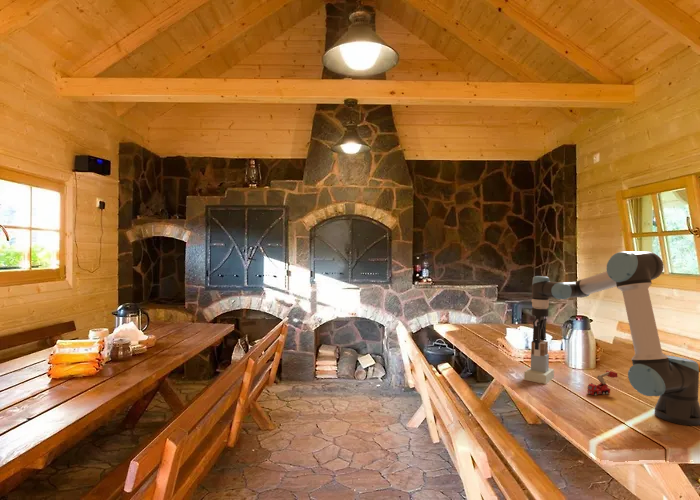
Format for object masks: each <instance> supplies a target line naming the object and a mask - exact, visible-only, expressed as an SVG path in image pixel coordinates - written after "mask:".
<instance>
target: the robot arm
mask: <svg viewBox="0 0 700 500" xmlns="http://www.w3.org/2000/svg"><path fill="white" fill-rule="evenodd" d="M664 267H665V266H664V262H663V260H662V258H661V257H660V256H659V255H658V254H656V253H654V252H652V251H647V250H645V251H638V250H637V251H635V250H633V251H630V250H627V251H619V252H616V253H614V254H613V255H611V257H610V258H609V259H608V261H607V263H606V270H605V271H603V272H600V273H597V274H595V275H591V276H588V277H586V278H582V279H579V280H575V281H559V282H558V281H550V277H548V276H544V275H542V276H541V275H536V276H533V277H532V284H531V286H532V291H531V294H532V297H531V298H532V299H531V300H530V302H531V306H532V308H531V315H532V316H533V317H535V319H534V321H532V322H533V328H532V329H533V331H532V341H531V342H534V356H539V357H540V341H547V318H545V317H548V316H549V306H550V303H549V302H550V298H551V299H552V298H553V299H558V300H568V299H570V298H580V299H581V298H585V297H586V298H587V297H589V296H590V295H591V294H594V293H599V292H603V291H605V290H609V289H612V288H615V287H616V288H617V289H618V290H620V291H621V292H622V293H621V294H622V296H623V301H624V306H625V307H624V308H625V311H626V315H627V320H628V324H629V325H628V326H629V331H630V334H631V335H630V336H631V339H632V344H633V350H634V355H633V356H632V357H631V362H632V363H631V364H632V366H631V367H629V369H628V371H627V378H628V381H629V383H630V385H631V386H632V388H633V389H634V390H635V391H637V393H639V394H641V395H643V396H646V397H658V399H657V402H656V404H655V406H654V415H655V416H656V417H657V418H658V419H661V420H664V421H665V422H670V423H673V424H678V425H684V426H694V427H695V426H700V403H699V384H700V383H699V379H700V377H699V376H700V371H699V369H700V368H699V364H698V362H697V361H695V360H692V359H688V358H684V357H679V356H674V355H667V354H664V352H663V350H662V346H661V341H660V336H659V332H658V328H657V324H656V317H655V314H654V310H653V304H652V301H651V296H650V291H649V290H650V289H649V288H650V287H651V285H652V284H653V283H652V281H653V280H655V279H657V278H659V277H660V276H661V275H662V273H663V272H664V269H665V268H664Z"/></svg>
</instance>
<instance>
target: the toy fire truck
mask: <svg viewBox="0 0 700 500" xmlns="http://www.w3.org/2000/svg"><path fill="white" fill-rule="evenodd" d="M605 377H609V378H618V373H617V372H615V371H612V370H605V373H602V374H598V375H597V376H596V379H597V380H598V382H599V383H598V384H593V383H592V382H591V383H588V384H587V385H588V386H587V394H588V395H591V396H597V395H608V394H611V388H609V387H608V386H609V385H608V384H607V383H606V381H605Z"/></svg>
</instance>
